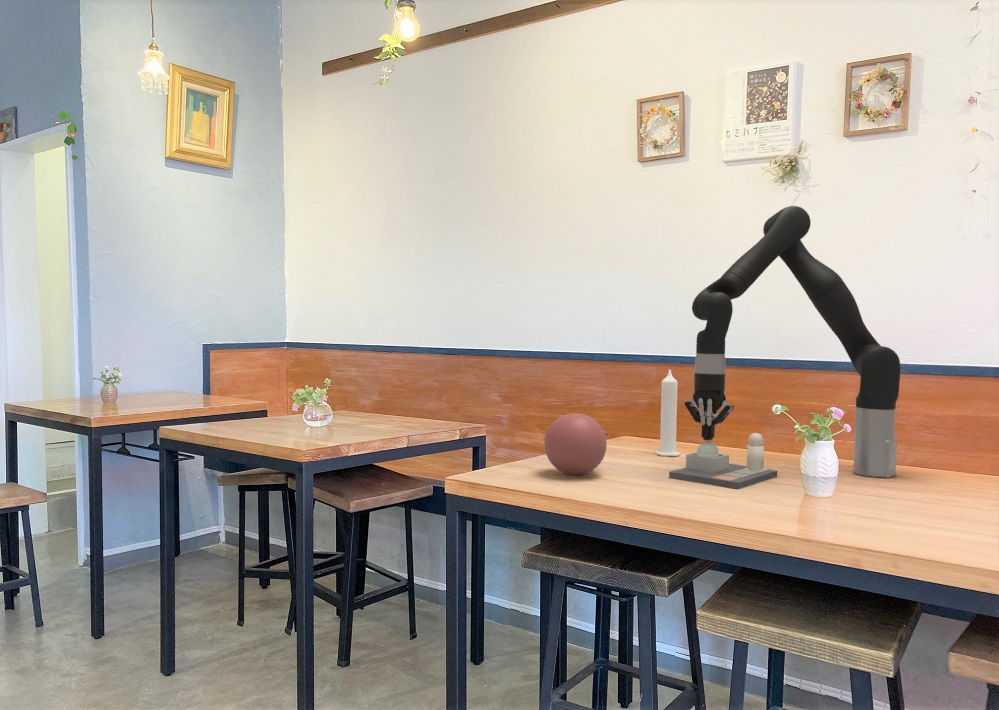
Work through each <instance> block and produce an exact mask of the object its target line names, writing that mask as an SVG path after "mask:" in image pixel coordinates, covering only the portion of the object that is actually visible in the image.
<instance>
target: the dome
mask: <svg viewBox="0 0 999 710" xmlns="http://www.w3.org/2000/svg"><path fill="white" fill-rule="evenodd" d="M696 452H697V456H703V457H710V458H715V457H719V454H720V451H719V448H718V446H717V445H716V444H715V443H713V442H712V441H711V442H710V441H704V442H702V443H700V444H699V445H698V447H697V449H696Z"/></svg>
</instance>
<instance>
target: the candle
mask: <svg viewBox="0 0 999 710" xmlns="http://www.w3.org/2000/svg"><path fill="white" fill-rule="evenodd" d="M678 383H679V382H678V380H677V379H676V378H674V377H673V374H672V370H671V369H668V373H667V376H666V377H665V378H663V379H662V380H661V393H660V394H661V395H660V396H661V398H660V399H661V400H660V433H659V434H660V436H659V437H660V438H659V439H660V443H659V450H656V451H655V455H656V454H657V456H658V455H660V456H659V457H665V456H677V457H680V456H681V452H680V451H677V417H678V415H677V414H678Z"/></svg>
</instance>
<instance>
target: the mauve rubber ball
mask: <svg viewBox="0 0 999 710" xmlns="http://www.w3.org/2000/svg"><path fill="white" fill-rule="evenodd" d="M608 433H609V432H608V431H607V430H604V429H603V428H602V426H601V425H600V424H599V423H598V421H597V420H595V419H594V418H592V417H591V416H589V415H587V414H585V413H580V412H572V413H571V412H570V413H566V414H563V415H561V416H559V417H558V418H556V419H555V420H554V421H553V422H552V423H551V424H550V425H549V426H548V428H547V431H546V432H545V437H544V441H543V442H544V443H543V445H544V451H545V454H546V457H547V460H549V462H550V463H551V465H552V466H553V467H554V468H555V469H556V470H558V471H560V472H562V473H563V474H566V475H570V476H580V475H586V474H588V473H591V472H592V471H594V470H595V469H597V468H598V466H599V465H600V464H601V462H602V461H603V460H604V458H605V455H606V453H607V451H606V450H607V437H606V436H607V435H608Z"/></svg>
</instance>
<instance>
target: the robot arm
mask: <svg viewBox="0 0 999 710" xmlns="http://www.w3.org/2000/svg"><path fill="white" fill-rule="evenodd" d="M810 229H811V218H810V215H809V213H808V212H807V211H806V210H805V209H804V208H803V207H801V206H798V205H789V206H786V207H784V208H782V209H780V210H779V211H777V212H775V213H774V214H773V215H771V216H770V217H769V218H767V220H766V221H765V222H764V225H763V229H762V230H763V237H761V239H760V240H759V241H757V243H755V244H754V245H753V246H752V247H750V248H749V250H747V251H746V252H745V253H743V254H742V255H741V256H740V257H739V258H738V259H737V260H736V261H735V262H733V263H732V265H731V266H730V267H729V268H728V269H727V270H726V271H725V272H724V273H723V274H722V275H721V277H719V278H717V280H715V281H714V282H712V283H710V284H709V285H707V287H705V288H704V289H702V290H701V291H700V292H699V293H698V294H697V295H696V296H695V298H694V299H693V302H692V305H691V311H692V314H693V316H694V317H695V318H696V319H698V320H701V321H706V324H705V328H704V329H703V330H699V332H698V333H697V336H696V342H695V343H696V349H695V353H696V354H695V360H694V368H693V371H694V375H693V377H694V379H693V380H694V381H693V389H694V391H693V394H692V398H691V399H689V400H688V401H685V402H684V406H685V407H686V409H687V411H688V412H689V414H690V416H691V417H692V419H693V420H694V422H696V423H699V424H700V425H701V438H703V441H707V442H710V441H712V440H713V439H714V438H715V435H716V434H715V431H716V430H715V428H716V425H720V424H722V423H723V422H724V421H725V419H726V418H727V417H728V416H729V415H730V414H731V412H733V410H734V407H735V405H733V404H730V403H729V402H728V401H727V398H726V397H727V396H726V395H725V390H726V367H727V366H726V337H727V334H728V331H729V327H730V323H731V320H732V316H733V311H734V310H733V302H732V300H734V299H738V298H740V297H741V296H742V295H744V294H745V293H746V291H748V289H750V287H751V286H752V285H753V284H754V283H755V282H756V281H757V279H758V278H759V277H761V275H762V274H763V273H764V272H765V271H766V270H767V269H768V267H770V265H771V264H772V263H773V262H774V261H775V260H776V259H777V258H778V257H779V258H780V259H781V260H782V262H783V263H784V264H785V265H786V266H787V268H788V269H789V270H790V272H791V273H792V275H793V277H795V279H796V280H797V282H798V283H799V285H800V286H801V287H802V289H803V291H804V292H805V294H806V295H807V297H808V299H809V300H810V302H811V303H812V305H813V307H814V308H815V309H816V311H817V312H818V314H819V315H820V316H821V318H822V319H823V320H824V321H825V323H826V324H827V326H828V327H829V328H830V330H831V331H832V332H833V333H834V334H835V336H836V337H837V339H838V340H839V341H840V343H841V344H842V347H843V348H844V350H845V352H846V354H847V356H848V358H849V359H850V362H851V364H852V366H853V367H854V370H855V371H856V372H857V374H858V375H859V376H860V382H859V386H860V387H859V392H858V393H857V396H856V397H855V413H854V414H855V415H854V416H855V418H854V420H855V421H854V444H853V445H854V447H853V448H854V449H853V473H854V474H856V475H860V476H866V477H874V478H875V477H876V478H888V479H890V478H892V477H893V476H896V475H897V474H896V472H897V447H898V439H897V437H895V434H896V433H895V432H896V430H895V429H896V408H897V407H896V406H897V405H896V404H897V401H898V398H899V393H900V382H901V362H900V361H901V360H900V358H899V356H898V354H897V352H896V351H894V350H893V348H890V347H889V346H883V345H881V344H880V343H879V342H878V341H877V339H876V338H875V337H874V336H873V335H872V333H871V332H870V330H869V329H868V328H867V326H866V324H865V322H864V321H863V317H862V315H861V312H860V309H859V306H858V304H857V301H856V299H855V297H854V294H853V293H852V291H851V290H850V289H849V287H848V286H847V285H846V283H845V281H844V280H843V278H842V277H841V276H840V275H839V274H838V273H837V272H836V271H835V270H833V269H832V268H830V267H829V266H828V265H826V264H825V263H822V262H821V261H820V260H819V259H817V258H815V257H814V256H813V255H812V254H811V253H810V252H809V250H808V249H807V248H806V246H805V244H804V243H803V242H802V239H803V238H804V237H805V236H806V235H807V234H808V233H809V231H810ZM697 407H698V408H697ZM720 409H721V411H720V412H719V410H720Z"/></svg>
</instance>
